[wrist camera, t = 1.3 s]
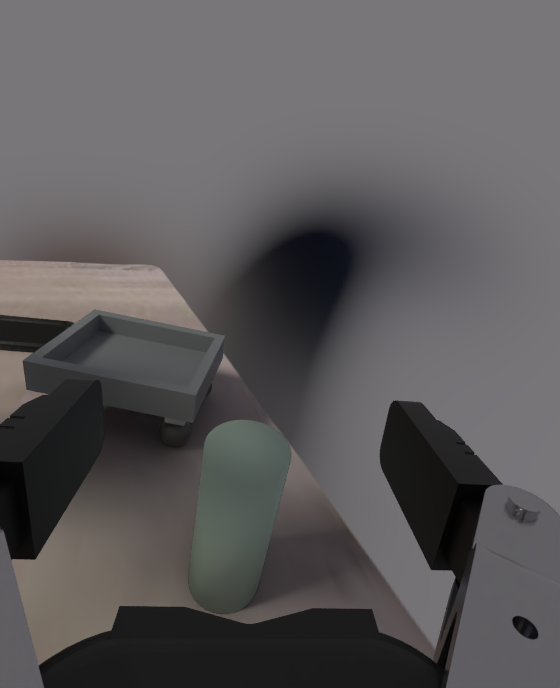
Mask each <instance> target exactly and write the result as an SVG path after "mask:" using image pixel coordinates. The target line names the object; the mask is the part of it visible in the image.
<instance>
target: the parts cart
mask: <svg viewBox="0 0 560 688" xmlns="http://www.w3.org/2000/svg"><path fill="white" fill-rule="evenodd" d="M224 343H225V336H223V335H218V334H213V333H208V332H203V331H199V330H194V329H189V328H184V327H179V326H174V325H169V324H164V323H159V322H154V321H149V320H144V319H139V318H134V317H129V316H124V315H119V314H114V313H109V312H104V311H99V310H93V311H92V312H91V313H89V314H88V315H86V316H85V317H83V318H82V319H81V320H79V321H78V322H76V323H75V324H74V325H72V326H71V327H69V328H68V329H67V330H65V331H64V332H62V333H61V334H59V335H58V336H57V337H55V338H54V339H52V340H51V341H50V342H48V343H47V344H45V345H44V346H43V347H41V348H40V349H38V350H37V351H35V352H34V353H33V354H31V355H30V356H28V357H27V358H26V359H24V360H23V367H24V374H25V381H26V389H27V390H31V391H36V392H41V393H46V394H48V395H50V394H51V393H52V392H53V391H54V390H55V389H56V388H57V387H58V386H59V385H60V384H61V383H62V382H63V381H64V380H66V379H67V378H77V379H92V380H99V381H100V383H101V386H102V399H103V405H106V406H111V407H116V408H121V409H126V410H131V411H136V412H141V413H146V414H151V415H156V416H161V417H165V420H164V421H163V423H162V425H161V428H160V435H161V438H162V440H163V441H164V442H165V443H166V444H168V445H170V446H181V445H183V444H185V443H186V442H187V441H188V440H189V439H190V437H191V434H192V425H191V423H193V422H194V420H195V418H196V416H197V414H198V411H199V409H200V407H201V405H202V403H203V400H204V398H205V397H206V396H208V395H209V393H210V392H211V389H212V381H213V378H214V376H215V374H216V372H217V370H218V367H219V365H220V363H221V361H222V358H223V351H224ZM190 422H191V423H190Z"/></svg>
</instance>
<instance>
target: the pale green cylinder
mask: <svg viewBox="0 0 560 688" xmlns="http://www.w3.org/2000/svg"><path fill="white" fill-rule="evenodd" d="M290 461H291V449H290V446H289V444H288V442H287V440H286V439H285V437H284V436H283V435H282V434H281V433H279V432H278V431H277V430H275V429H274V428H272V427H270V426H268V425H266V424H264V423H261V422H257V421H252V420H233V421H228V422H225V423H223V424H220V425H218V426H217V427H215V428H214V429H213V430H212V431H211V432H210V433H209V434H208V435H207V437H206V439H205V442H204V450H203V458H202V466H201V475H200V483H199V491H198V500H197V508H196V516H195V525H194V533H193V541H192V550H191V558H190V567H189V575H188V584H189V589H190V592H191V594H192V596H193V598H194V599H195V601H196V602H197V603H198V604H199V605H200V606H201V607H203V608H204V609H206V610H208V611H210V612H213V613H218V614H229V613H233V612H236V611H238V610H241V609H242V608H244V607H245V606H246V605H247V604H249V602H250V601H251V600H252V599H253V597H254V596H255V594H256V592H257V589H258V585H259V581H260V578H261V574H262V570H263V566H264V562H265V558H266V554H267V550H268V546H269V543H270V539H271V535H272V531H273V527H274V523H275V519H276V515H277V511H278V508H279V504H280V500H281V496H282V492H283V488H284V484H285V480H286V476H287V473H288V469H289V465H290Z"/></svg>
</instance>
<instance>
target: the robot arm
mask: <svg viewBox="0 0 560 688" xmlns="http://www.w3.org/2000/svg"><path fill="white" fill-rule="evenodd" d="M103 439H104V420H103V399H102V386H101V383H100V381H99V380H92V379H77V378H67V379H66V380H64V381H63V382H62V383H61V384H60V385H59V386H58V387H57V388H56V389H55V390H54V391H53V392H52V393H51V394H50V395H42V396H40V397H38V398H36V399H33V400H31V401H29V402H27V403H25V404H23V405H22V406H21V407H20V408H19V409H17V410H16V411H15V412H14V413H13V414H12V415H11V416H10V418H7V419H6V420H5V421H4V422H3V423H1V424H0V688H560V516H559V514H558V513H557V512H556V511H555V510H554V509H553V508H552V507H551V506H550V505H549V504H548V503H546V502H545V501H543V500H542V499H540V498H539V497H537V496H535V495H534V494H532V493H530V492H527V491H525V490H523V489H520V488H517V487H513V486H508V485H503V484H502V483H501V482H500V481H499V480H498V479H497V477H496V476H495V475H494V474H493V473H492V472H491V471H490V470H489V468H488V467H487V466H486V465H485V464H484V463H483V462H482V461H481V460H480V458H479V457H478V456H477V455H474V452H473V451H472V450H471V448H470V447H469V446H468V445H465V442H464V441H463V440H462V439H461V437H460V436H459V435H458V434H457V433H456V432H455V431H454V430H453V429H451V428H450V427H448V426H447V425H445V424H443V423H442V422H441V421H439V420H436V419H435V418H434V416H433V415H432V414H431V413H430V412H429V411H428V409H427V408H426V407H425V406H424V405H423V404H422V403H421V402H409V401H393V402H392V403H391V405H390V408H389V412H388V417H387V421H386V426H385V430H384V434H383V438H382V443H381V447H380V464H381V468H382V470H383V473H384V475H385V477H386V478H387V481H388V483H389V485H390V487H391V489H392V491H393V493H394V495H395V497H396V499H397V501H398V503H399V505H400V507H401V509H402V511H403V513H404V515H405V517H406V520H407V522H408V523H409V526H410V528H411V530H412V532H413V534H414V536H415V538H416V540H417V542H418V544H419V546H420V548H421V550H422V552H423V554H424V556H425V558H426V560H427V562H428V564H429V566H430V568H431V570H452V571H453V573H454V575H455V576H456V577H455V581H454V583H453V586H452V589H451V593H450V597H449V600H448V604H447V608H446V612H445V616H444V620H443V623H442V627H441V631H440V635H439V639H438V643H437V646H436V650H435V654H434V658H433V660H432V659H430V658H429V657H427V656H426V655H424V654H423V653H421V652H420V651H418V650H417V649H415V648H413V647H412V646H410V645H408V644H406V643H404V642H402V641H400V640H398V639H396V638H393V637H391V636H388V635H386V634H383V633H379V631H378V628H377V625H376V621H375V618H374V615H373V611H372V609H322V608H313V609H309V610H305V611H301V612H297V613H294V614H290V615H286V616H282V617H279V618H275V619H271V620H267V621H263V622H260V623H255V624H245V623H240V622H237V621H233V620H230V619H226V618H222V617H219V616H215V615H212V614H208V613H205V612H201V611H197V610H194V609H190V608H187V607H148V606H120V607H119V610H118V613H117V616H116V619H115V622H114V625H113V628H112V630H111V631H107V632H103V633H100V634H97V635H95V636H92V637H89V638H87V639H84V640H82V641H80V642H78V643H76V644H74V645H71V646H69V647H67V648H65V649H64V650H62V651H60V652H59V653H57V654H55V655H54V656H52V657H50V658H49V659H47V660H46V661H44V662H43V663H42V664H40V665H39V666H38V662H37V659H36V655H35V651H34V647H33V643H32V639H31V635H30V631H29V627H28V624H27V620H26V616H25V612H24V608H23V604H22V600H21V596H20V592H19V589H18V585H17V581H16V577H15V573H14V569H13V565H12V561H11V560H12V559H33V560H35V559H36V558H37V556H38V554H39V553H40V551H41V549H42V548H43V546H44V544H45V543H46V541H47V540H48V538H49V536H50V535H51V533H52V531H53V530H54V528H55V526H56V525H57V523H58V521H59V520H60V518H61V517H62V515H63V513H64V512H65V510H66V508H67V507H68V505H69V503H70V502H71V500H72V498H73V497H74V495H75V494H76V492H77V490H78V489H79V487H80V485H81V484H82V482H83V480H84V479H85V477H86V475H87V474H88V472H89V471H90V469H91V467H92V466H93V464H94V462H95V461H96V459H97V457H98V456H99V454H100V451H101V448H102V444H103Z"/></svg>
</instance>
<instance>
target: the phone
mask: <svg viewBox="0 0 560 688" xmlns="http://www.w3.org/2000/svg"><path fill="white" fill-rule="evenodd" d="M72 325H74V323H73V322H69V321H59V320H48V319H38V318H27V317H16V316H6V315H0V350H6V351H20V352H33V353H34V352H35V351H37V350H38V349H40V348H41V347H43V346H44V345H45V344H47V343H48V342H50V341H51V340H52V339H54V338H55V337H57V336H58V335H59V334H61V333H62V332H64V331H65V330H67V329H68V328H69V327H71V326H72Z"/></svg>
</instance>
